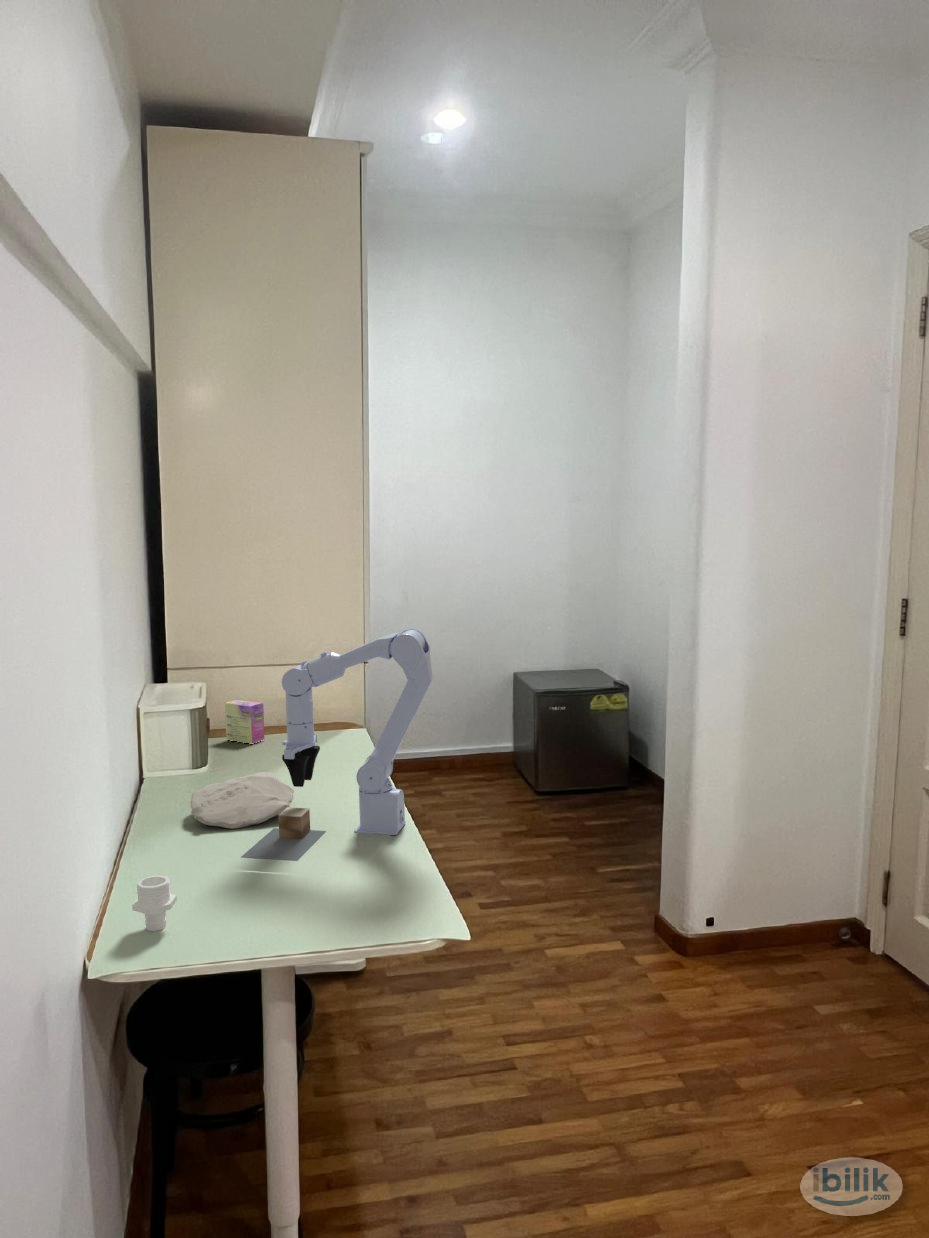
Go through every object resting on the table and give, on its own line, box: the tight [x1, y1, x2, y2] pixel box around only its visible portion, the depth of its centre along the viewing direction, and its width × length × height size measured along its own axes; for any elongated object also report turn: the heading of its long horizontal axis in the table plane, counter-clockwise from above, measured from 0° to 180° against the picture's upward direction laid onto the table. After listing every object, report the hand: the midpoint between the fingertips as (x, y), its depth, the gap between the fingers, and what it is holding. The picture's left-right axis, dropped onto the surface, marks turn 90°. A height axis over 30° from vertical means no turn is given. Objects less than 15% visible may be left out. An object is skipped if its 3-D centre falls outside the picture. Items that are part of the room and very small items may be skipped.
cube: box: [277, 807, 311, 839], centre depth 200 cm, size 5×5×5 cm
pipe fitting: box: [131, 875, 178, 932], centre depth 157 cm, size 6×7×8 cm
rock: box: [190, 771, 295, 830], centre depth 218 cm, size 8×23×30 cm
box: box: [224, 699, 265, 744], centre depth 281 cm, size 10×6×12 cm, turn 60°
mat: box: [240, 827, 327, 862], centre depth 194 cm, size 12×17×1 cm
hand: (302, 782), depth 204 cm, fingers open, 4 cm apart
